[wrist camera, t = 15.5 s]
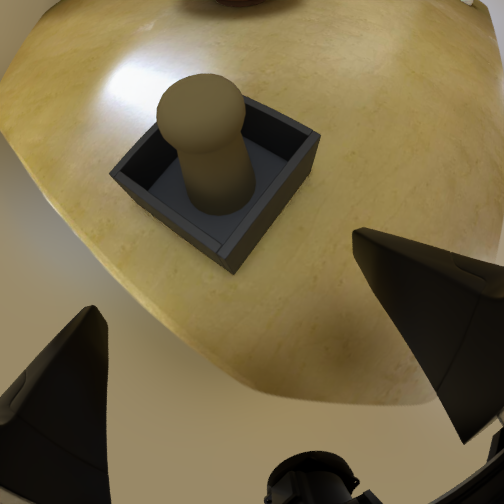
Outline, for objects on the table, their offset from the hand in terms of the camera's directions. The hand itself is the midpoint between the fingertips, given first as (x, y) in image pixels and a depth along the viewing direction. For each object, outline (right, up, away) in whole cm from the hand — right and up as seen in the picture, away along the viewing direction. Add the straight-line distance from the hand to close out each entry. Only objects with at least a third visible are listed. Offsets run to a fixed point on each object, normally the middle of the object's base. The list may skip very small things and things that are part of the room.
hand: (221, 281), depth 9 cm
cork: (-2, +7, +15) cm, 17 cm away
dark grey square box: (-2, +7, +16) cm, 17 cm away
